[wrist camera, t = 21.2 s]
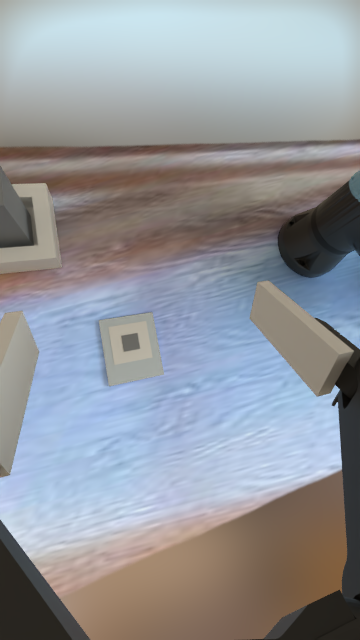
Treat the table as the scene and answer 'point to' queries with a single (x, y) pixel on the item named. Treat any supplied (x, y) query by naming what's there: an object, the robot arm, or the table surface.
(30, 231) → the charcoal pillar
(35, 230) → the socket base
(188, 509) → the table surface
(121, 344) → the card
